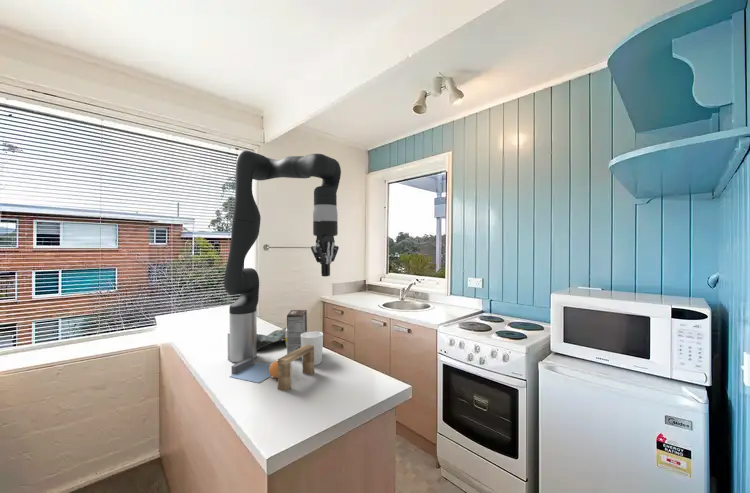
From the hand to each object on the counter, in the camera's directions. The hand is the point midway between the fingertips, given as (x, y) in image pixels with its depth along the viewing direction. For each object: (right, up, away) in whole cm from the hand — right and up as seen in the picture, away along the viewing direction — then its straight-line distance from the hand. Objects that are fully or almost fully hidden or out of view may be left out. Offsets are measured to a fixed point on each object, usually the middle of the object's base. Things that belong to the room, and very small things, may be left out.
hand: (325, 276), depth 94 cm
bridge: (-9, -32, -1) cm, 33 cm away
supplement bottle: (-19, -32, +32) cm, 49 cm away
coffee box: (-15, -32, +22) cm, 42 cm away
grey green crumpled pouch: (-26, -33, +35) cm, 55 cm away
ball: (-16, -30, +2) cm, 33 cm away
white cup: (-7, -32, +14) cm, 36 cm away
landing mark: (-23, -32, +5) cm, 40 cm away
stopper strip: (-29, -32, +8) cm, 44 cm away
